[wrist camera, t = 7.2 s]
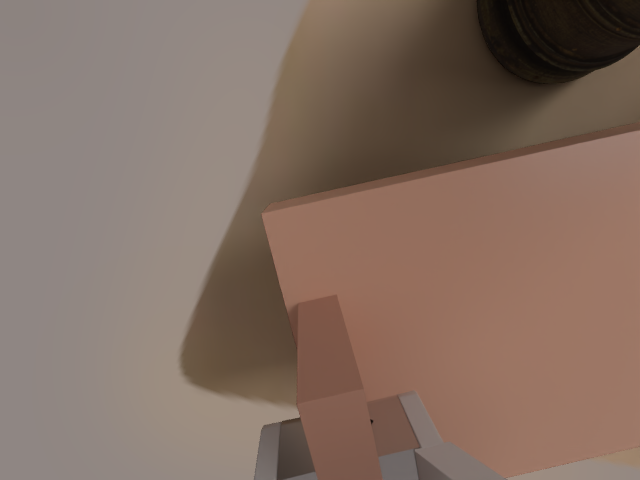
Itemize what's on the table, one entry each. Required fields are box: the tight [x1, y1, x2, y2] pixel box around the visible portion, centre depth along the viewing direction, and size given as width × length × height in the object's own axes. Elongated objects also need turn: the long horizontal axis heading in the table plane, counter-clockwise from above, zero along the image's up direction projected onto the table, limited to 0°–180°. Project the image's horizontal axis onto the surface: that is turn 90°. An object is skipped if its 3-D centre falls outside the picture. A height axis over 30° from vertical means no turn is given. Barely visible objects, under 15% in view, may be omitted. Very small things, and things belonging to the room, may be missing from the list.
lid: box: [261, 122, 640, 480], centre depth 9 cm, size 15×12×6 cm
